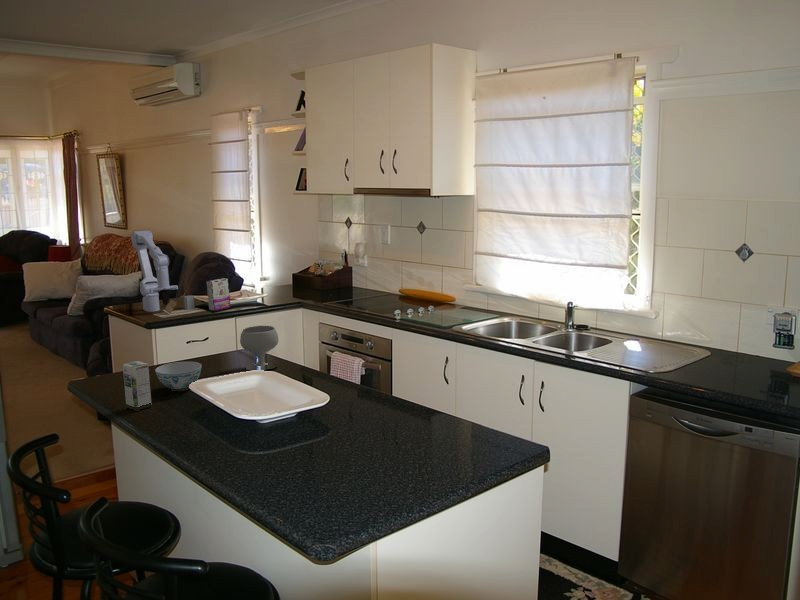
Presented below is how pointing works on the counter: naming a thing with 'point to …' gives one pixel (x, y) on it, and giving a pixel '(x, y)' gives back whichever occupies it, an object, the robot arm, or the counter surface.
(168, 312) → the walnut block
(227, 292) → the candy bar box
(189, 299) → the slate blue block
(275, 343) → the chalice
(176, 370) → the chinaware
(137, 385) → the syrup box
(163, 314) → the birch board
